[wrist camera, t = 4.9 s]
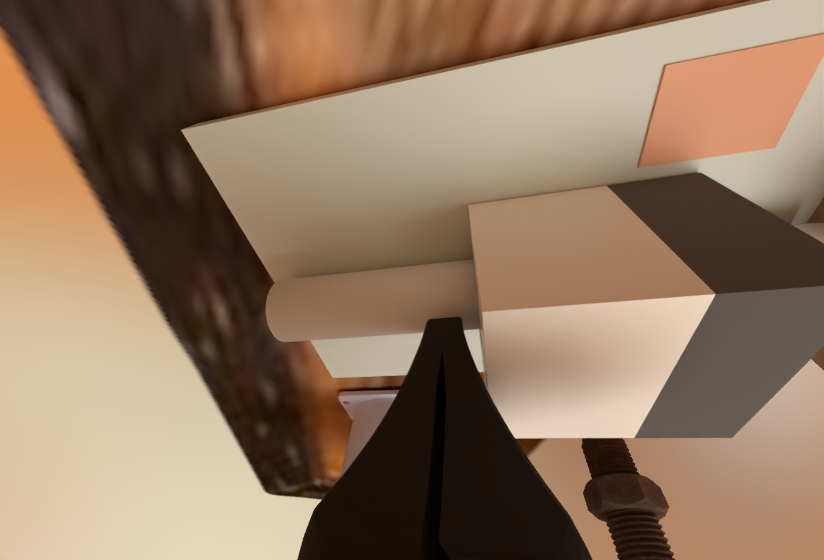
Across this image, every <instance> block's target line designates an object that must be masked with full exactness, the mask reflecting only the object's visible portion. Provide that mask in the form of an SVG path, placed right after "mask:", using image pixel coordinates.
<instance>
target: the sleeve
mask: <svg viewBox="0 0 824 560" xmlns="http://www.w3.org/2000/svg"><path fill="white" fill-rule="evenodd" d="M468 210H469V222H470V233H471V241H472V249H473V257H474V265H475V273H476V280H477V289H478V301H479V314H480V327H481V329H479V335H480V344H481V353H482V362H483V370H484V379H485V386H486V388H487V390H488V392H489V394H490V396H491V398H492V400H493V402H494V404H495V405H496V407H497V409H498V411H499V413H500V414H501V416H502V418H503V419H504V421H505V423H506V424H507V426H508V428H509V429H510V431H511V433H512V434H513V436H514V437H515V438H635V436H636V434H637V432H638V430H639V429H640V427H641V425H642V423H643V422H644V420H645V418H646V416H647V415H648V413H649V411H650V409H651V408H652V406H653V404H654V402H655V401H656V399H657V397H658V395H659V393H660V392H661V390H662V388H663V386H664V385H665V383H666V381H667V379H668V378H669V376H670V374H671V372H672V371H673V369H674V367H675V365H676V364H677V362H678V360H679V358H680V357H681V355H682V353H683V351H684V349H685V348H686V346H687V344H688V342H689V341H690V339H691V337H692V335H693V334H694V332H695V330H696V328H697V327H698V325H699V323H700V321H701V320H702V318H703V316H704V314H705V312H706V311H707V309H708V307H709V305H710V304H711V302H712V300H713V298H714V297H715V295H716V294H715V293H714V292H713V291H712V290H711V289H710V288H709V287H708V286H707V285H706V284H705V283H704V282H703V281H702V280H701V279H700V278H699V277H698V276H697V275H696V274H695V273H694V272H693V271H692V270H691V269H690V268H689V267H688V266H687V265H686V264H685V263H684V262H683V261H682V260H681V259H680V258H679V257H678V256H677V255H676V254H675V253H674V252H673V251H672V250H671V249H670V248H669V247H668V246H667V245H666V244H665V243H664V242H663V241H662V240H661V239H660V238H659V237H658V236H657V235H656V234H655V233H654V232H653V231H652V230H651V229H650V228H649V227H648V226H647V225H646V224H645V223H644V222H643V221H642V220H641V219H640V218H639V217H638V216H637V215H636V214H635V213H634V212H633V211H632V210H631V209H630V208H629V207H628V206H627V205H626V204H625V203H624V202H623V201H622V200H621V199H620V198H619V197H618V196H617V195H616V194H615V193H614V192H613V191H612V190H610V189H609V188H608V187H607V186H600V187H593V188H585V189H578V190H571V191H564V192H557V193H550V194H542V195H535V196H528V197H521V198H514V199H507V200H499V201H492V202H485V203H478V204H471V205H468Z"/></svg>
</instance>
